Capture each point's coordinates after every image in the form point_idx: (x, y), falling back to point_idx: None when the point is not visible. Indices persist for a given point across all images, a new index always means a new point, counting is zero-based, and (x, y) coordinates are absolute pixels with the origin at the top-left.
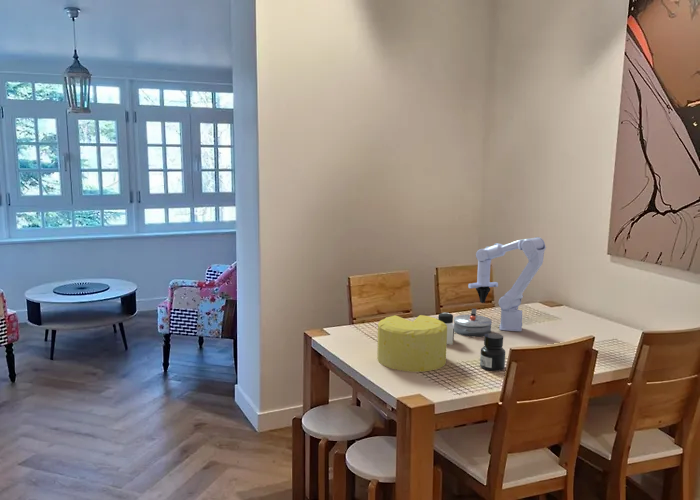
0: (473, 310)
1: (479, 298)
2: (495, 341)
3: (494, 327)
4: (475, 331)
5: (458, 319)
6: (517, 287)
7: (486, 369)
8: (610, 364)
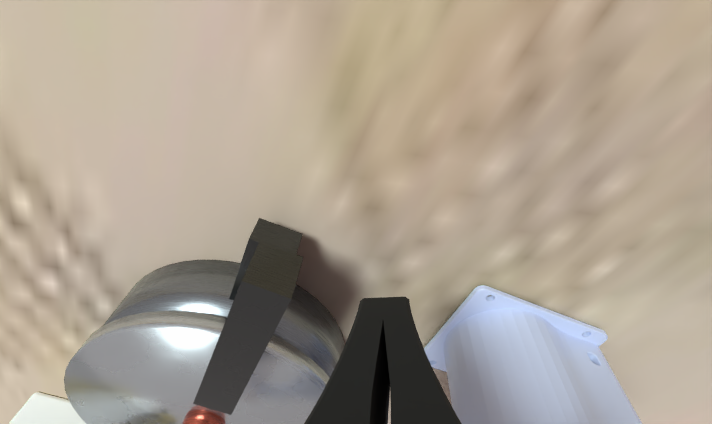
0: (237, 342)
1: (347, 340)
2: None
3: (416, 306)
4: None
5: (99, 405)
6: None
7: None
8: None
